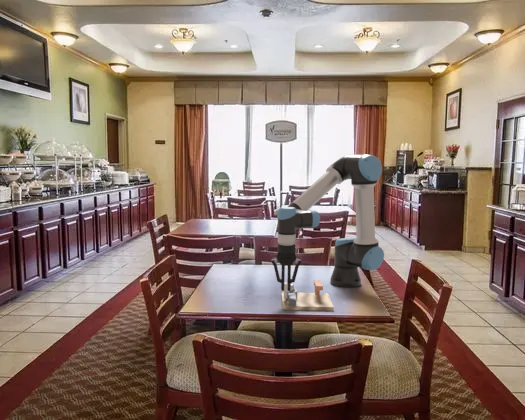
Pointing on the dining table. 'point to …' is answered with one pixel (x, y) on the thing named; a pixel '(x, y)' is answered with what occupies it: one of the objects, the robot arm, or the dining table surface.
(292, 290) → the pintle
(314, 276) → the dining table surface
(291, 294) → the link
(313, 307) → the board
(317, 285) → the keeper
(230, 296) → the dining table surface
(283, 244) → the robot arm
